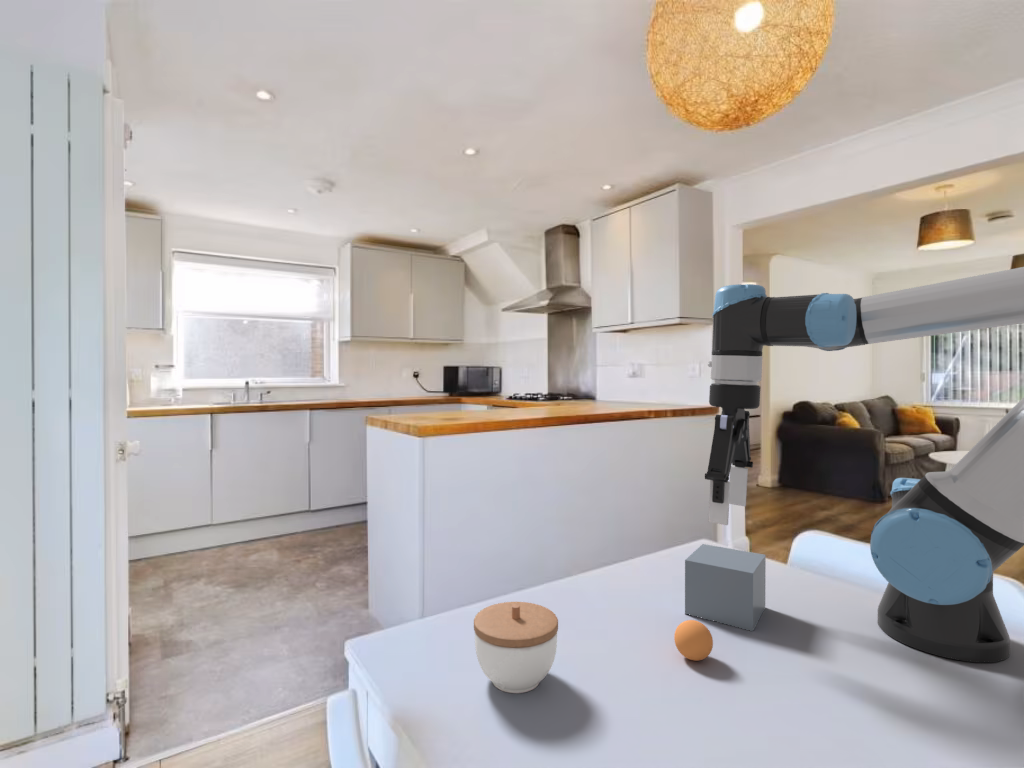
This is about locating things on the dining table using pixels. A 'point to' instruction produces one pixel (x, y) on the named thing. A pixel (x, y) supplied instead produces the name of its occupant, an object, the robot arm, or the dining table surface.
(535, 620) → the lidded jar
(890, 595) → the robot arm
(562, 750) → the dining table surface
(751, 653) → the dining table surface
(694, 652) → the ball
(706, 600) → the matte gray-blue box
